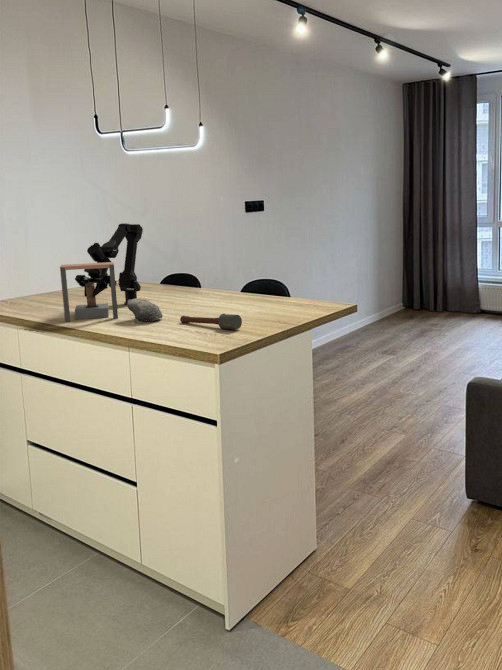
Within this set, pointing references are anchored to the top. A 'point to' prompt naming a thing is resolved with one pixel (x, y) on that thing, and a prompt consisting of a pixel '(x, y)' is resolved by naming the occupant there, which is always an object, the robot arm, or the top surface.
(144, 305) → the rock
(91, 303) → the peg
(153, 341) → the top surface
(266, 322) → the top surface
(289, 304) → the top surface
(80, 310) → the socket stand
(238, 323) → the mallet
